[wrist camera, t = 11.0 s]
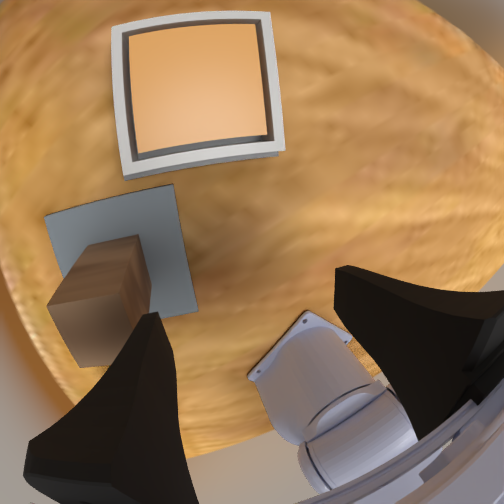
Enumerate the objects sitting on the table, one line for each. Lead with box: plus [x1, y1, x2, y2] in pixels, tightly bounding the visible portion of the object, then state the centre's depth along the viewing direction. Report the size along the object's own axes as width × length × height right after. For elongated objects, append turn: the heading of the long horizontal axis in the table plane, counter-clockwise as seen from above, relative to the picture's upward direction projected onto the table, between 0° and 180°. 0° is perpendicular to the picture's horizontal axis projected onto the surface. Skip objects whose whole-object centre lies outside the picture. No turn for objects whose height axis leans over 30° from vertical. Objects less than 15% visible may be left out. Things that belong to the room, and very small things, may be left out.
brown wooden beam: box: [47, 234, 152, 368], centre depth 15 cm, size 4×4×8 cm
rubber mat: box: [44, 184, 199, 319], centre depth 18 cm, size 10×10×1 cm
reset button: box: [129, 24, 267, 153], centre depth 13 cm, size 7×7×2 cm
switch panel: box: [111, 11, 285, 181], centre depth 14 cm, size 10×10×4 cm
